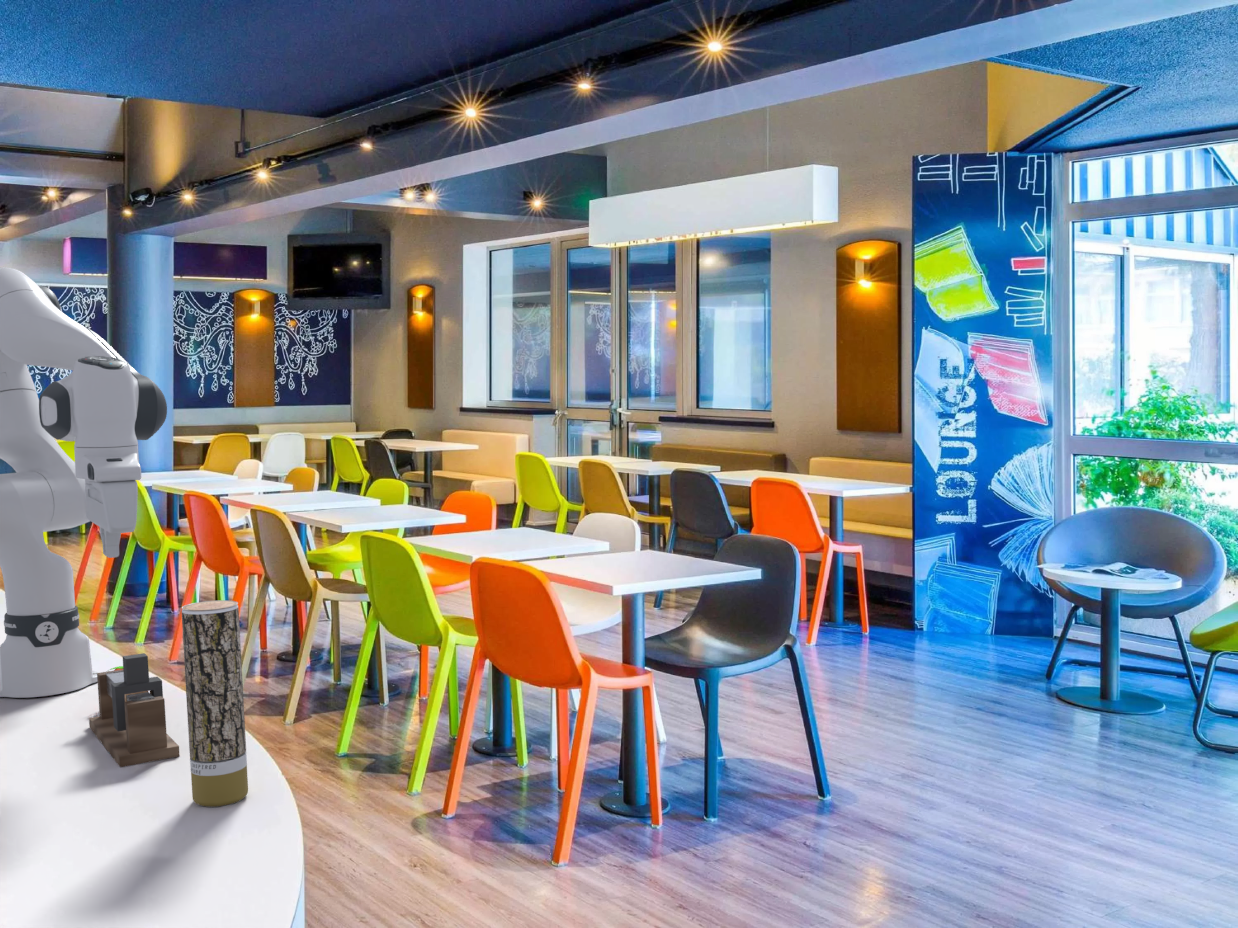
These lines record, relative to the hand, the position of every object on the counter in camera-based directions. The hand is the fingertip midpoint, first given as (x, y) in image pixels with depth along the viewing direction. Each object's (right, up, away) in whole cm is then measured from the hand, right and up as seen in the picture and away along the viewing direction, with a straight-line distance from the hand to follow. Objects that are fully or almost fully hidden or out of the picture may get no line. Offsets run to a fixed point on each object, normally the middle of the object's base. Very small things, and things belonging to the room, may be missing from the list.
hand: (111, 556), depth 181 cm
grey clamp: (+7, -24, -7) cm, 26 cm away
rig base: (+4, -28, -1) cm, 28 cm away
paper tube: (+26, -29, -28) cm, 48 cm away
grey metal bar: (+4, -22, -2) cm, 23 cm away
